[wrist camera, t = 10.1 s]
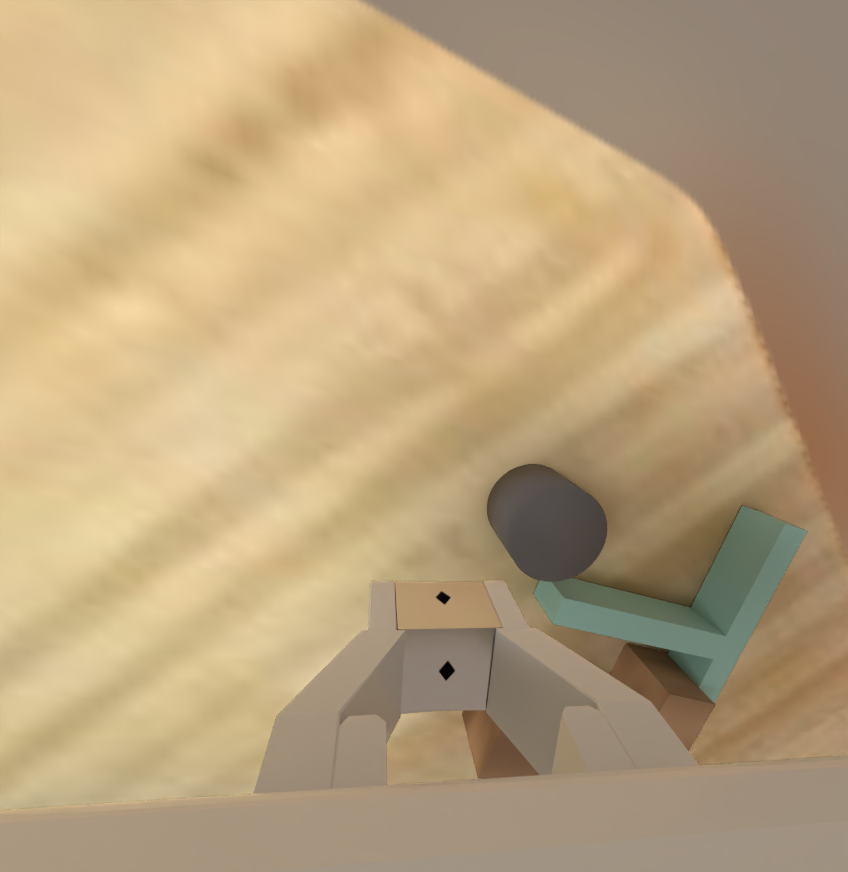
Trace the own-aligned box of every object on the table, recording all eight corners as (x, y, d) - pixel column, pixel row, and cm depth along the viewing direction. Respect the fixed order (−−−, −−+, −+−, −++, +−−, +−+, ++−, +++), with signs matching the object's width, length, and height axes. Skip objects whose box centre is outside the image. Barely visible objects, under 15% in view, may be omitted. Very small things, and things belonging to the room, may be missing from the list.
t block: (597, 778, 26) (632, 846, 22) (443, 752, 24) (456, 823, 20) (665, 652, 24) (715, 704, 21) (507, 612, 22) (533, 662, 18)
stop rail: (622, 783, 26) (647, 826, 24) (462, 761, 24) (472, 806, 21) (762, 512, 22) (807, 531, 20) (590, 457, 20) (619, 471, 18)
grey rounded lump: (549, 552, 21) (583, 590, 18) (474, 532, 20) (494, 569, 17) (581, 477, 21) (622, 502, 17) (504, 453, 20) (532, 475, 16)
